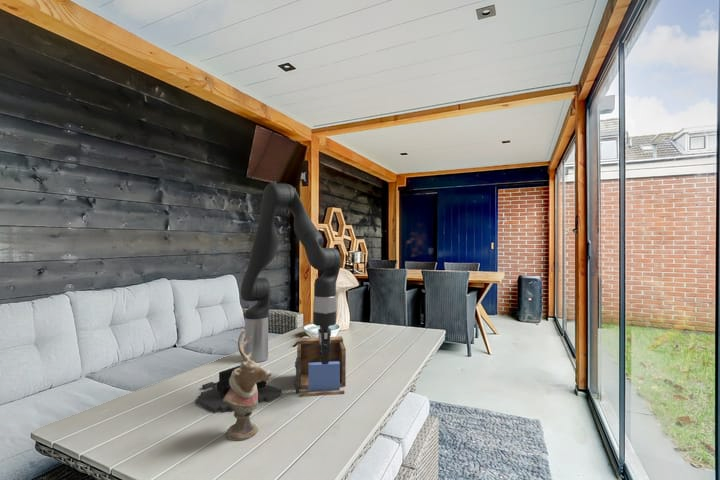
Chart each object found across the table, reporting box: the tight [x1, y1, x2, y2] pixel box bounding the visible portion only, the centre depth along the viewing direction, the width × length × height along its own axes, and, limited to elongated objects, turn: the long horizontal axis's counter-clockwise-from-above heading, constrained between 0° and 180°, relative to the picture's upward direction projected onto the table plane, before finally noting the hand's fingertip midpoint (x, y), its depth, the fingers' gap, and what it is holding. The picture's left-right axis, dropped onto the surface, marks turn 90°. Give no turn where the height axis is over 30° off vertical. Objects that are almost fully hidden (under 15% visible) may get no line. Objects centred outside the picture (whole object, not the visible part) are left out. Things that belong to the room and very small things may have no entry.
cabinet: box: [294, 335, 347, 397], centre depth 120 cm, size 17×18×14 cm
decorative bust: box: [223, 330, 272, 441], centre depth 90 cm, size 11×13×25 cm
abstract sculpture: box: [195, 365, 282, 414], centre depth 111 cm, size 25×9×20 cm
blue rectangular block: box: [307, 361, 341, 392], centre depth 114 cm, size 10×2×9 cm, turn 99°
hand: (324, 359), depth 114 cm, fingers open, 8 cm apart
